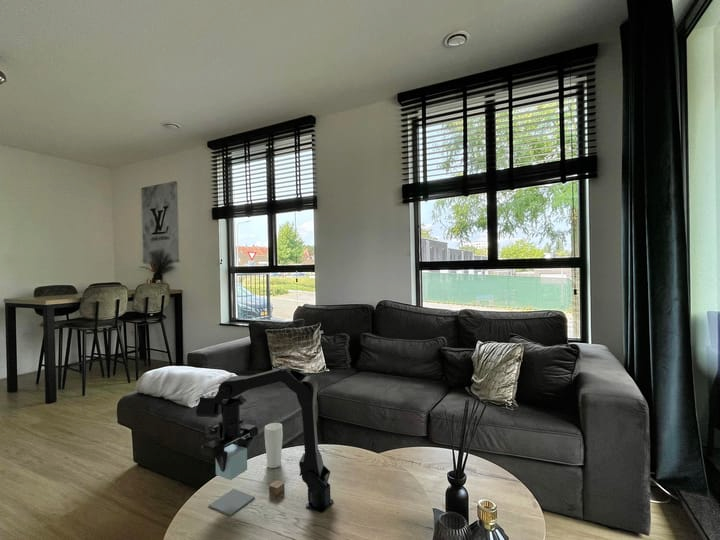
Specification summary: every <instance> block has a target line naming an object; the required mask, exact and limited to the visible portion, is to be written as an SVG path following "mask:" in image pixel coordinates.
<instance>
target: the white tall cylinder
mask: <svg viewBox="0 0 720 540" xmlns="http://www.w3.org/2000/svg"><path fill="white" fill-rule="evenodd" d="M283 435H284V434H283V424H282V423H280V422H271V423H268V424H266V425H265V426H264V445H265V452H266V453H265V454H266V466H267V468H269V469H276V468H279V467H280V466H281V465H282V449H283Z"/></svg>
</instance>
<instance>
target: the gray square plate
mask: <svg viewBox="0 0 720 540" xmlns="http://www.w3.org/2000/svg"><path fill="white" fill-rule="evenodd" d="M255 498H256V496H253V495H250V494H249V493H247V492H242V491H240V490H238V489H235V488H232V489H231V490H230V491H228V492H226V493H225V494H223V495H222V496H220V497H219V498H217V499H216V500H214V501H212V502H211V503H210V504H208V508H211V509H212V510H215V511H218V512H219V513H222V514H225V515H227V516H230V517H231V516H233V515H234V514H236V513H237V512H238V511H240V510H241V509H243V508H244V507H245V506H246V505H248V504H249V503H251V502H253V500H255Z"/></svg>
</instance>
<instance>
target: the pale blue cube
mask: <svg viewBox="0 0 720 540" xmlns="http://www.w3.org/2000/svg"><path fill="white" fill-rule="evenodd" d="M224 451H226V452H228V453H227V460H226V467H225V471H224V472H222V471H221V470H220V467H219V465H218V462H217V460H216V459H215V475H216V476H218V477H221V478H223V479H227V480H230V481H232V480H234V479H236V477H238V476H240V475H242V474H243V473H245V472H246V471H248V448H244V447H241V446H238V444H233V443H230V444H229V445H227V446H225V447H224Z"/></svg>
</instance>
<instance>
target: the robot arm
mask: <svg viewBox="0 0 720 540" xmlns="http://www.w3.org/2000/svg"><path fill="white" fill-rule="evenodd" d="M280 382H281V383H283V384H284V385H285V386H286V387H287V388H288V389H289V390H290V391H292V392H293V393H295V394H296V398H297V402H298V405H299V406H300V409H301V416H302V418H301V419H302V432H303V446H304V453H302V456H301V458H300V459H299V462H298V466H299V470H300V471H299V476H300V477H301V478H302V479H301V480H302V482H304V483H305V484H306V486H307V501H308V502H307V503H306V504H305V507H306V508H307V509H309V510H313V511H316V512H319V513H321V514H322V513H324V512H325V511H326V510H327V509H328V508H329V507H330V506H331V505H332V504H333V503H334V499H332V497H331V484H330V483H329V478H330V474H331V470H329V469H328V468H327V467H326V466H325V465H324V461H323V458H322V454H321V452H320V450H319V445H318V443H319V442H318V430H317V417H316V416H317V415H316V413H317V412H316V403H317V402H316V401H317V396H318V388H319V387H318V386H319V385H318V380H317V379H316V378H315V377H314V376H312V375H307V374H305V373H304V372H303V373H302V372H300V371H297V370H295V369H292V367H290V366H288V365H284V366H282V367H279V368H276V369H272V370H269V371H268V370H267V371H264V372H260V373H256V374H252V375H235V376H230V377H229V378H227V379H225V380H223V381H222V382H221V383H220V384H219V386H218V390H217V393H216V394H215V395H210V396H209V395H202V396H200V397H199V402H198V403H197V407H196V409H195V415H196V417H197V418H198V419H202V418H203V419H217V418H218V417H219V415H221V420H220V421H218V424H217V425H213V424H211V425H208V426H205V428H204V434H205V437H206V438H210V439H213V438H217V439H221V440H220V441H218V440H217V441H216V440H210V441H208V442H205V443H204V444H203V445H201V448H200V453H201V455H202V456H206V457H209V458H212V459H215V461H216V460H217V462H218V465H219V467H220V470H221V471H222V472H224V471H225V467H226V460H227V453H228V452H226V451H224V448H226V447H227V446H229V445H231V444H233V442H235V441H236V443H237V446H241V447H244V448H247V449H249V446H250V445H251V442H252V441H253V440H254V438H255V437H257V436H258V435H259V428H258V427H257V425H253V424H250V423H245V424H243V423H244V419H242V418H241V406H242V405H244V404H245V403H246V402H247V401H248V399H246V398H245V397H243V395H241V394H242V393H245V392H247V391H249V390H253V389H257V388H260V387H265V386H269V385H272V384H276V383H280ZM237 396H238V397H237ZM241 424H243V425H241Z"/></svg>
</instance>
